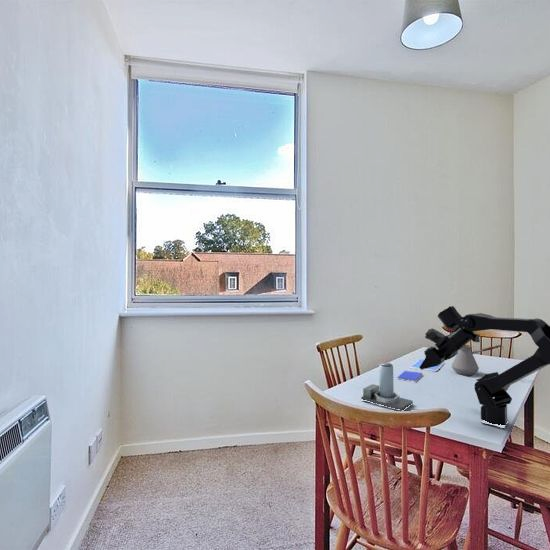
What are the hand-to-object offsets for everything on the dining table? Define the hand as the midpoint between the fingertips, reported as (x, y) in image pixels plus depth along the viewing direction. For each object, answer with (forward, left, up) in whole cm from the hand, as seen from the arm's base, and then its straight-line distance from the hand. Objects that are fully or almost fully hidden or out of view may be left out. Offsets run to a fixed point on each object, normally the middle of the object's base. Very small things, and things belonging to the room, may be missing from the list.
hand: (425, 365), depth 134 cm
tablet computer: (+18, -51, -14) cm, 56 cm away
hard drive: (+17, -26, -14) cm, 35 cm away
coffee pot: (-4, -50, -14) cm, 52 cm away
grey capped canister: (+10, +10, -12) cm, 19 cm away
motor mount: (+11, +10, -14) cm, 20 cm away
